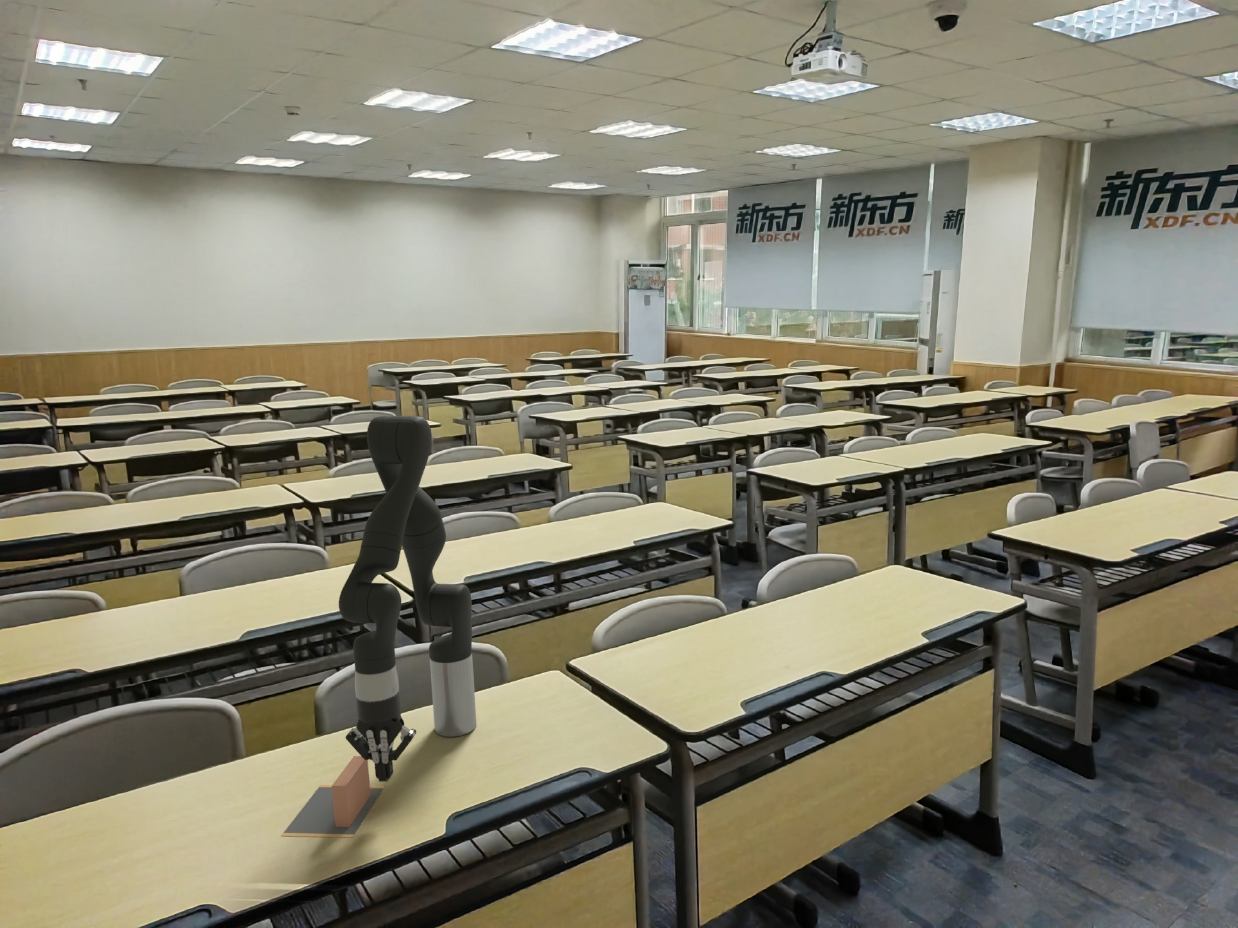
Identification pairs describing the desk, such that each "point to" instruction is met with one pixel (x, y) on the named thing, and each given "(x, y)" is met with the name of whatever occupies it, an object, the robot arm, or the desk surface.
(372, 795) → the mat
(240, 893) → the desk surface
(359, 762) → the slab
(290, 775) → the desk surface
